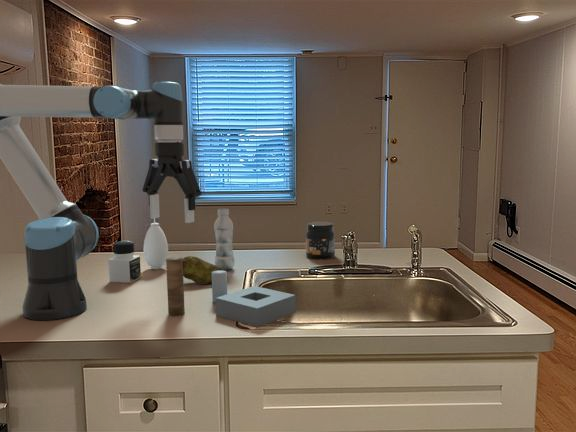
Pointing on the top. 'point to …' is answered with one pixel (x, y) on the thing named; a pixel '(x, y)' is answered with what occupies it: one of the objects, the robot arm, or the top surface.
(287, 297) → the hole block
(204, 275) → the potato
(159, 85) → the robot arm
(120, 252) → the medicine bottle
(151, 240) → the sauce bottle
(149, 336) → the top surface
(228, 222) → the plastic bottle
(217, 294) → the short pin
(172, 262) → the long pin
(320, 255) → the supplement container
